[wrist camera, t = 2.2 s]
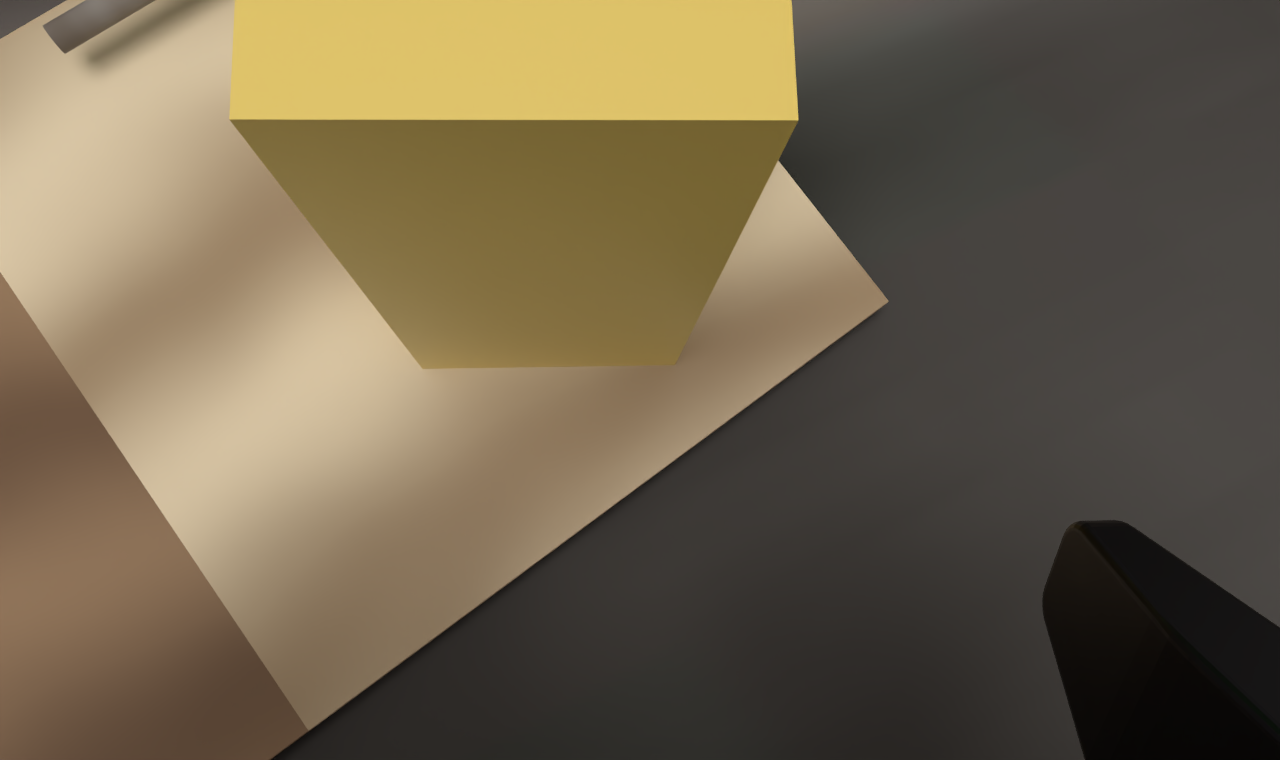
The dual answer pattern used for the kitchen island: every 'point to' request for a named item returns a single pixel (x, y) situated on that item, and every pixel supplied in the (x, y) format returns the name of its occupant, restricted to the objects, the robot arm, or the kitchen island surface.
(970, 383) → the kitchen island surface
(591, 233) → the tall mustard yellow pillar
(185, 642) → the panel
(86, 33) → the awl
